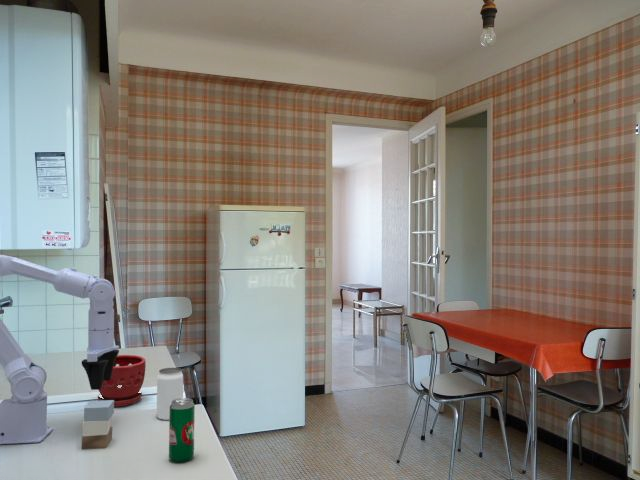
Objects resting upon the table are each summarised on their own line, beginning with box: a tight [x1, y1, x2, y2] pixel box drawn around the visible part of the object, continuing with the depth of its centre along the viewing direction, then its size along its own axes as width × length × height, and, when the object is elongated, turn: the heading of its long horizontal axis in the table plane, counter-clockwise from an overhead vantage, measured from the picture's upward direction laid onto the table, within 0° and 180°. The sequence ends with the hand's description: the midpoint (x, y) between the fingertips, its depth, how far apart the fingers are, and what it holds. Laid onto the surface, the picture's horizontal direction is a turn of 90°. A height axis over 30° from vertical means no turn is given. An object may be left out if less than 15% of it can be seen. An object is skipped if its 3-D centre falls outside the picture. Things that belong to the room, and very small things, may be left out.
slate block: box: [83, 400, 115, 422], centre depth 110 cm, size 5×5×3 cm
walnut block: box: [81, 426, 113, 450], centre depth 109 cm, size 5×5×3 cm
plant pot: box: [97, 354, 146, 408], centre depth 138 cm, size 13×13×12 cm
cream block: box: [82, 417, 112, 436], centre depth 109 cm, size 5×5×3 cm
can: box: [156, 367, 184, 421], centre depth 127 cm, size 6×6×12 cm
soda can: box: [168, 397, 196, 464], centre depth 103 cm, size 5×5×12 cm
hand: (101, 384), depth 119 cm, fingers open, 7 cm apart
